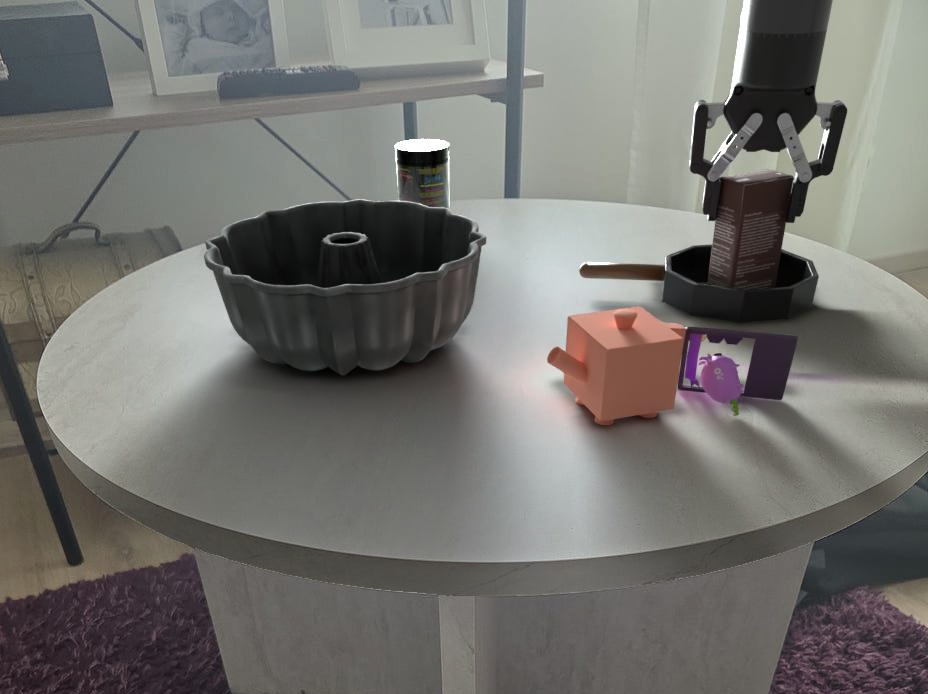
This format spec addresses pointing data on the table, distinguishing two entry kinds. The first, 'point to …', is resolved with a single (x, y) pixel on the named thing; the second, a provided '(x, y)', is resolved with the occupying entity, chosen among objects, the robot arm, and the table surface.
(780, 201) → the box
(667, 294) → the frying pan
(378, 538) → the table surface
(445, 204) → the supplement container
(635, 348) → the pink cube teapot
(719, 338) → the purple frame figurine
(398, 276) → the bundt pan
